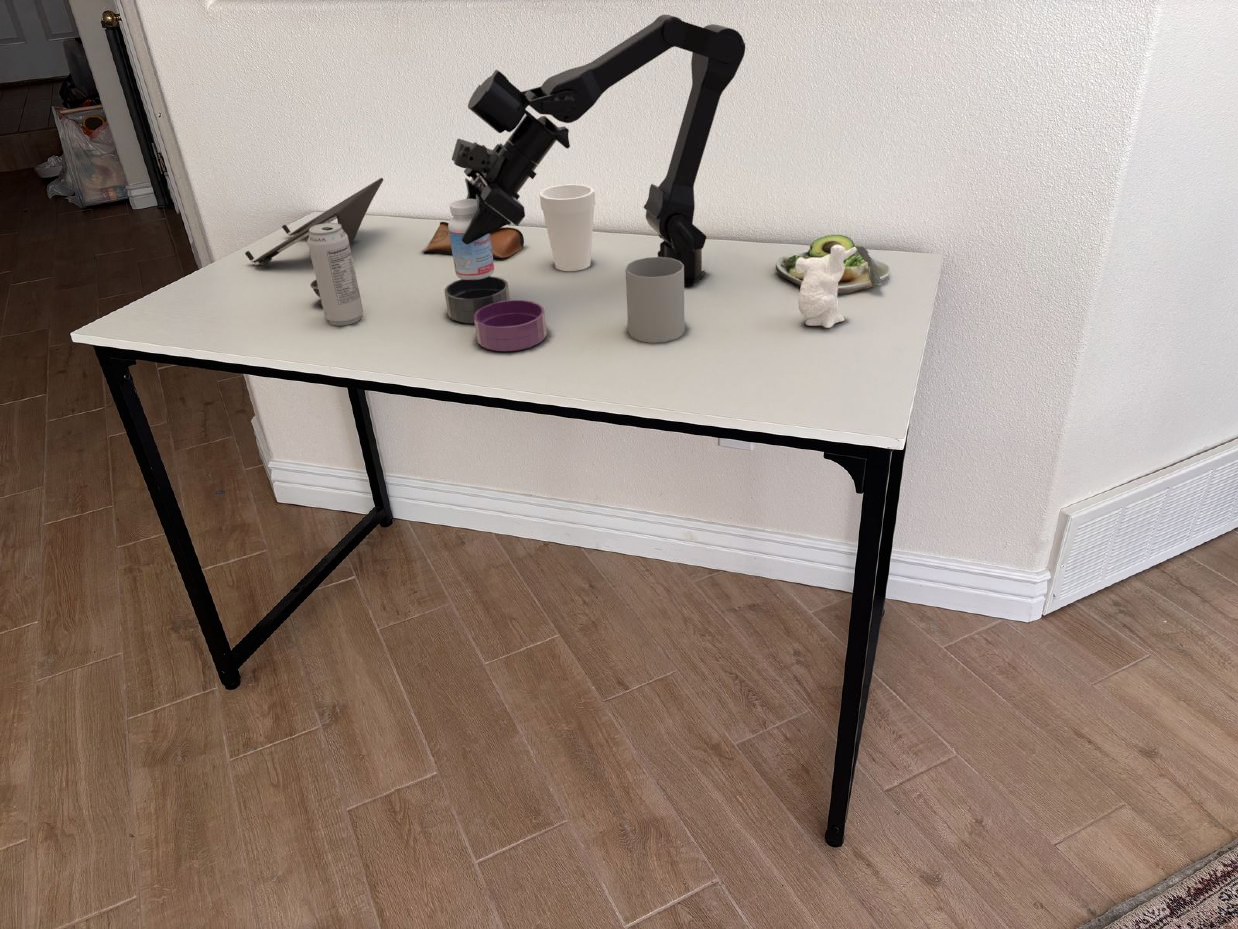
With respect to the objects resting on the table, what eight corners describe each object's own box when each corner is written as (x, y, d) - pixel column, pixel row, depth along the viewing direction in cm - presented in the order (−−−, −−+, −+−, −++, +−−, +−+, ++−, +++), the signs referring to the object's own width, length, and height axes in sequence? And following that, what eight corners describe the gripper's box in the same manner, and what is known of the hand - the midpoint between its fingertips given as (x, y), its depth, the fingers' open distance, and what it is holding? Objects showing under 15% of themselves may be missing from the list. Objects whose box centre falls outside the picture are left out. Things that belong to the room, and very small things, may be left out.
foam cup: (609, 265, 164) (604, 191, 157) (564, 278, 159) (558, 203, 152) (580, 252, 170) (575, 180, 163) (537, 264, 166) (529, 191, 159)
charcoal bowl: (522, 304, 150) (519, 280, 148) (488, 328, 143) (485, 302, 140) (471, 296, 154) (468, 272, 152) (435, 319, 147) (431, 294, 144)
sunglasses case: (419, 251, 174) (424, 215, 173) (438, 258, 180) (443, 224, 180) (505, 258, 168) (510, 221, 167) (521, 266, 174) (526, 230, 174)
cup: (645, 347, 134) (642, 281, 129) (618, 328, 140) (615, 264, 135) (695, 333, 137) (694, 269, 132) (667, 315, 143) (665, 253, 138)
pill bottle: (487, 281, 142) (477, 209, 136) (450, 281, 143) (438, 209, 137) (500, 267, 147) (490, 196, 141) (463, 267, 148) (452, 196, 142)
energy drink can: (347, 309, 152) (327, 219, 144) (372, 316, 149) (353, 224, 141) (318, 322, 148) (296, 230, 140) (343, 329, 145) (322, 236, 137)
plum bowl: (559, 329, 141) (556, 304, 139) (523, 357, 133) (520, 331, 131) (501, 320, 145) (498, 296, 143) (463, 346, 137) (460, 321, 135)
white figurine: (850, 315, 140) (857, 238, 134) (850, 333, 134) (857, 253, 128) (794, 313, 142) (798, 236, 135) (791, 331, 136) (795, 252, 130)
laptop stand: (317, 259, 192) (289, 220, 189) (403, 209, 184) (376, 167, 180) (267, 301, 173) (235, 259, 169) (360, 248, 165) (328, 202, 161)
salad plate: (921, 286, 148) (925, 258, 146) (826, 307, 143) (828, 279, 140) (850, 251, 164) (852, 225, 161) (762, 269, 158) (763, 243, 156)
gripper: (468, 106, 141) (409, 189, 145) (491, 130, 126) (424, 222, 130) (525, 152, 147) (466, 230, 151) (553, 180, 132) (487, 267, 136)
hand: (460, 236), depth 141 cm, fingers closed on pill bottle, 6 cm apart
